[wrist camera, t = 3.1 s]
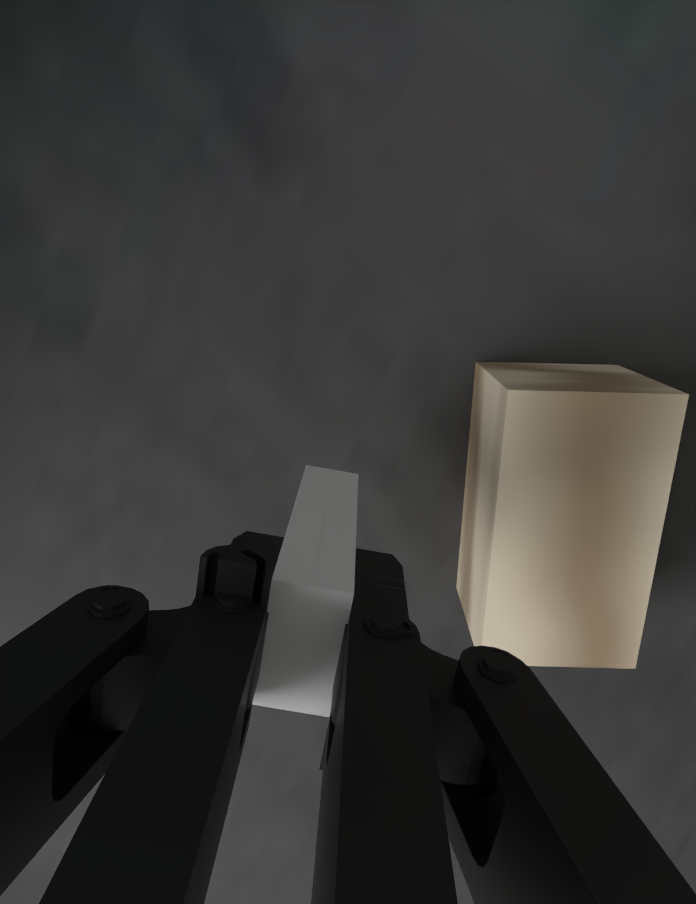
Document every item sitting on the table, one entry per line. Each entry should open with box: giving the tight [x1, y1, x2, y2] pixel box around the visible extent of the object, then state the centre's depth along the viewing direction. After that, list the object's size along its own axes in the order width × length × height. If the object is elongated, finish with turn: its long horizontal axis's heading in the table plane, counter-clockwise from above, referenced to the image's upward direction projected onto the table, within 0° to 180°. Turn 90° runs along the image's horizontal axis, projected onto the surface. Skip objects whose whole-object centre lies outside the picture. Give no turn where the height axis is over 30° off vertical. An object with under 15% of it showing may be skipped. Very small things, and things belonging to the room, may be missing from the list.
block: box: [456, 362, 689, 669], centre depth 21 cm, size 5×9×5 cm, turn 179°
